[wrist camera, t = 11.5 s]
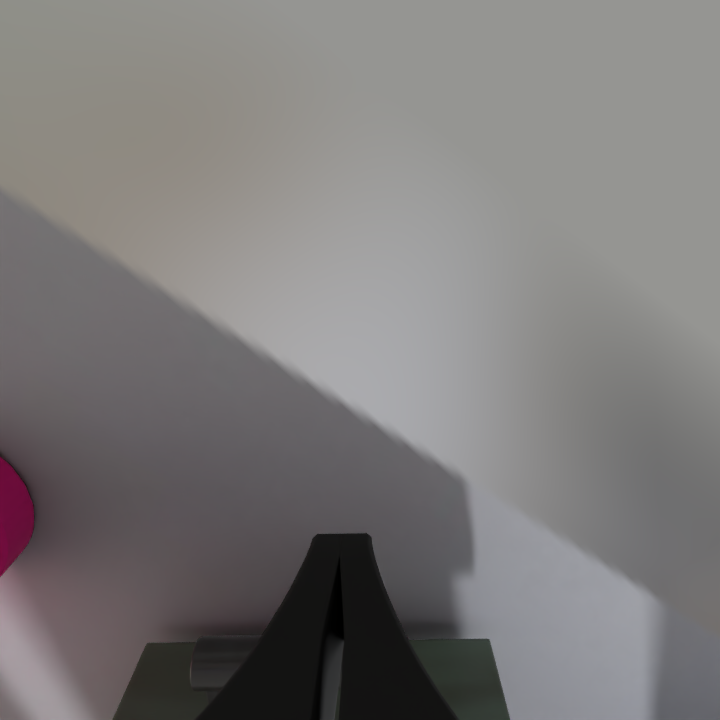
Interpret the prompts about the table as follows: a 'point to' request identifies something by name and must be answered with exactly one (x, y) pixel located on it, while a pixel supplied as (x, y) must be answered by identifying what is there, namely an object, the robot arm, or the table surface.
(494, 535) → the table surface
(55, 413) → the table surface
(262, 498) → the table surface
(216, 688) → the drawer
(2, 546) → the pepper mill
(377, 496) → the table surface
